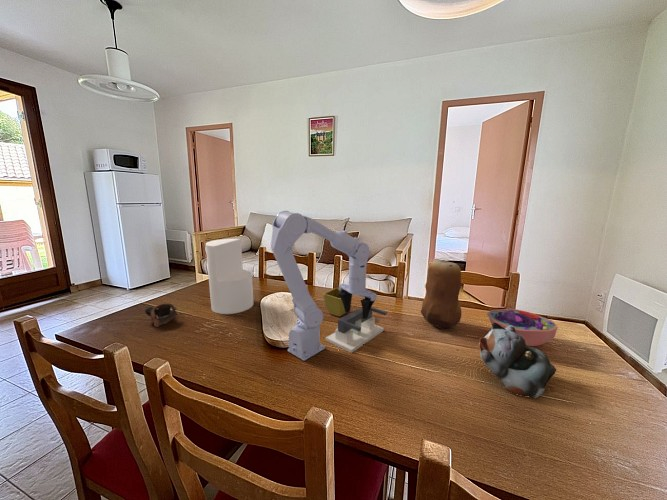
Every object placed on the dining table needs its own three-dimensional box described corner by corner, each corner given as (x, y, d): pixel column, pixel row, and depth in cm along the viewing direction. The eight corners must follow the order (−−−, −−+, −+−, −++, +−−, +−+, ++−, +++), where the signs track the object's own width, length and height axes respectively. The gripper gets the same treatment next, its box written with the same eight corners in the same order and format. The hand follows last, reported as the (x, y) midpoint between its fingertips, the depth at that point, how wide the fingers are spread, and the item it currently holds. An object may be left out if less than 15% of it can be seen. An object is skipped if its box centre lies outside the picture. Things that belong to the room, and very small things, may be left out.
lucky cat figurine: (531, 408, 65) (502, 347, 66) (483, 393, 77) (458, 341, 78) (567, 369, 72) (540, 314, 72) (517, 360, 84) (495, 313, 85)
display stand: (351, 352, 87) (351, 334, 86) (325, 340, 94) (325, 323, 93) (383, 330, 101) (384, 314, 99) (359, 321, 108) (359, 306, 107)
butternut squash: (452, 318, 111) (459, 257, 105) (464, 335, 98) (473, 267, 92) (417, 316, 112) (421, 256, 107) (424, 333, 99) (430, 265, 94)
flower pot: (340, 320, 108) (340, 298, 106) (322, 314, 114) (322, 293, 112) (352, 312, 115) (353, 292, 113) (335, 307, 120) (336, 287, 118)
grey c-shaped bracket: (358, 340, 86) (359, 328, 85) (337, 330, 91) (337, 319, 90) (386, 322, 97) (386, 311, 97) (366, 315, 103) (366, 304, 102)
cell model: (566, 360, 84) (573, 325, 82) (494, 351, 88) (499, 319, 86) (538, 332, 100) (543, 303, 98) (478, 326, 104) (482, 298, 102)
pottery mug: (183, 315, 112) (181, 303, 107) (171, 336, 105) (168, 323, 100) (152, 309, 111) (149, 296, 106) (137, 329, 104) (133, 316, 98)
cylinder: (202, 310, 116) (195, 244, 110) (228, 295, 132) (224, 237, 126) (237, 316, 111) (232, 247, 105) (261, 300, 127) (257, 240, 121)
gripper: (382, 278, 91) (380, 317, 94) (347, 270, 100) (347, 305, 103) (370, 283, 86) (368, 324, 89) (335, 274, 95) (334, 311, 98)
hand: (356, 314), depth 96 cm, fingers open, 7 cm apart
